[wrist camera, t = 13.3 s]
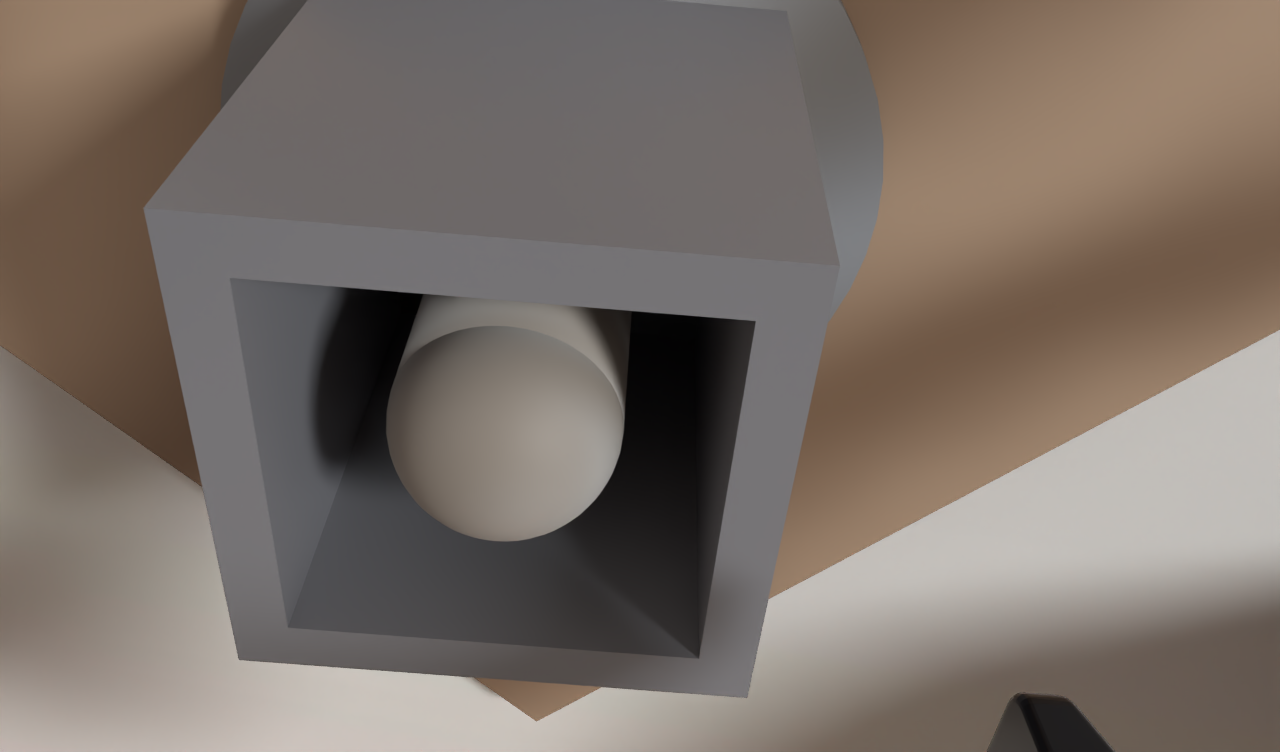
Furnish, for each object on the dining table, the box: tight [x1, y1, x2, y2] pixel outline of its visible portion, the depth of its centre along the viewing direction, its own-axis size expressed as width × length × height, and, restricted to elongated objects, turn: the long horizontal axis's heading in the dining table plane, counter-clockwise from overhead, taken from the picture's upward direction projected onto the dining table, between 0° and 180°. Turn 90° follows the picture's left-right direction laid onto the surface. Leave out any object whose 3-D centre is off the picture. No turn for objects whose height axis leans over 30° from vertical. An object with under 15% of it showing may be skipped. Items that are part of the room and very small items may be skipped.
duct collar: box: [144, 0, 840, 698], centre depth 13 cm, size 6×6×6 cm
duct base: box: [0, 0, 1280, 721], centre depth 14 cm, size 18×18×8 cm
